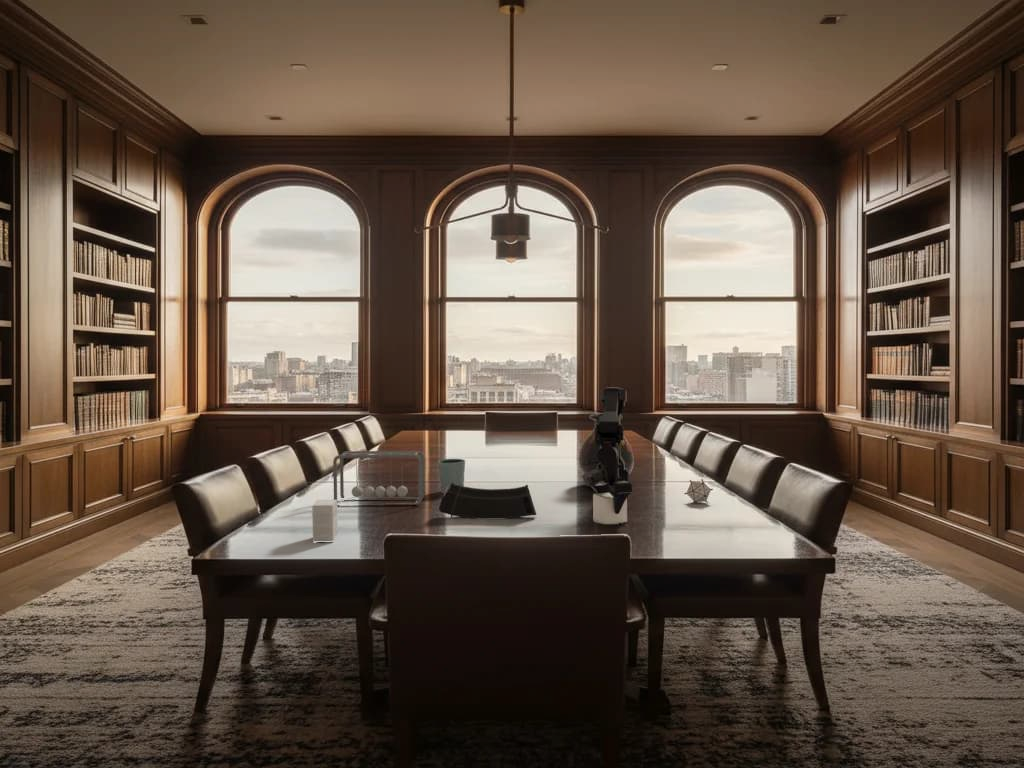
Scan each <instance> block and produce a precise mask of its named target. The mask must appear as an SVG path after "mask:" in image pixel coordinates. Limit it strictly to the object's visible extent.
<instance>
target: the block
mask: <svg viewBox="0 0 1024 768" xmlns="http://www.w3.org/2000/svg"><path fill="white" fill-rule="evenodd" d="M592 507H593V509H592V512H593V514H592V517H593V518H592V520H593V519H596V520H598V521H601V522H603V523H605V524H604V525H607V524H606V523H615V522H624V523H627V522H628V497H627V498H626V500H625V502H624V504H623V506H622V508H621V510H620V512H619V514H615V510H614V501H613V496H612V495H611V494H610V493H599V494H596V493H593V494H592Z"/></svg>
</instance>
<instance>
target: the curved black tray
mask: <svg viewBox="0 0 1024 768" xmlns="http://www.w3.org/2000/svg"><path fill="white" fill-rule="evenodd" d="M438 510H439V511H440V513H443V514H447V515H450V517H453V516H454V517H461V518H466V517H469V518H468V519H477V518H506V519H514V518H523V517H530V516H537V511H536V508H535V505H534V501H533V498H532V494H531V493H530V489H529V485H528V484H525V485H524V486H520V487H519V486H518V487H513V488H493V489H490V488H487V489H486V488H475V487H469V486H465V485H464V486H461V485H455V484H454V483H451V486H450V488H449V486H448V487H447V488H446V491H445V493H444V494H443V495H442V497H441V500H440V503H439V506H438Z"/></svg>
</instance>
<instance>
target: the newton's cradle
mask: <svg viewBox="0 0 1024 768" xmlns="http://www.w3.org/2000/svg"><path fill="white" fill-rule="evenodd" d="M408 458H409V459H410V458H411V459H412V458H413V459H416V460H417V492H418V495H417V496H416V497H414V496H413V497H410V496H409V497H406V496H407V494H408V488H407V487H406V486H405V485H403V483H404V480H403V477H404V476H403V475H404V473H403V472H404V469H403V468H404V467H403V466H404V459H408ZM344 459H355V469H356V474H355V475H356V478H358V472H359V468H360V467H359V466H360V461H358V464H357V459H366V460H367V461H366V462H367V465H369V461H368V460H369V459H377V460H378V461H377V463H380V459H389V461H390V471H389V475H390V477H389V478H390V479H389V480H390V486H387V488H385V487H384V486H383V485H381V484H382V482H381V479H382V478H381V477H382V475H381V474H382V473H381V472H382V466H379V472H378V477H379V486H376V488H374V487H373V486H372V485H370V482H371V480H370V479H371V477H370V476H371V469H368V473H367V480H368V482H367V483H368V486H366V487H364V490H363V488H362V487H360V486H359V485H358V484H359V479H356V486H354V487H352V489H351V494H352V496H353V498H360V497H361V496H362V495H363V494H364V496H365V497H366V498H372V497H373V496H374V495H375V496H377V498H383V497H384V496H386V495H387V497H388V498H394V497H395V496H396V494H397V495H398V497H399V498H405V499H406V498H407V499H417V500H418V501H417V500H415V502H379V503H380V504H381V503H383V504H384V503H385V504H416V505H417V504H419V505H421V503H422V500H424V498H425V496H426V495H425V494H426V482H425V481H426V476H425V473H426V471H425V467H426V466H425V463H426V462H425V461H426V460H425V454H424V452H422V451H421V450H357V451H355V450H354V451H352V450H349V451H346V450H345V451H343V452H342V453H341V454H339V455H336V456H334V458H333V461H332V462H333V463H332V469H333V470H332V471H333V472H332V473H333V500H337V503H340V502H339V501H338V467H337V465H338V463H337V461H338V460H339V483H340V485H339V486H340V487H339V488H340V490H339V491H340V498H341V499H342V498H344V497H345V495H344V493H345V492H344V491H345V490H344V489H345V488H344V486H345V485H344V481H345V480H344ZM391 459H400V460H401V470H400V476H401V477H400V478H401V479H400V480H401V485H400V486H399V487H398V488H396V487H395V486H393V485H392V480H393V479H392V477H393V476H392V475H393V470H392V469H393V461H391ZM357 466H358V467H357ZM357 468H358V469H357ZM417 506H418V505H417Z"/></svg>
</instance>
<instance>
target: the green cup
mask: <svg viewBox="0 0 1024 768" xmlns="http://www.w3.org/2000/svg"><path fill="white" fill-rule="evenodd" d="M437 465H438V473H439V483H440V493H441V492H444V493H445V491H446V488H447V487H448V486H449V488H450V486H451V483H454V484H455V485H461V486H465V483H464V482H465V470H466V460H465V459H462V458H445V459H444V458H443V459H441V460H438V461H437Z"/></svg>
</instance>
